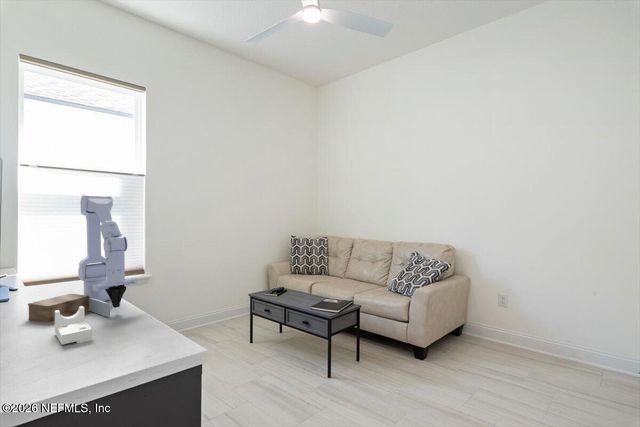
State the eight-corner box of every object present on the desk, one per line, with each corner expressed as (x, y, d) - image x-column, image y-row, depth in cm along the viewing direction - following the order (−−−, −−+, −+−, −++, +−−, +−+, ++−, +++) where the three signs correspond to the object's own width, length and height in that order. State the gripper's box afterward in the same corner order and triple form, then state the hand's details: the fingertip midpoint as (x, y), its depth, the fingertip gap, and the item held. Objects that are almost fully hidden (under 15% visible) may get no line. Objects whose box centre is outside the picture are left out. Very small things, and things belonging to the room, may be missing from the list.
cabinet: (70, 308, 131) (70, 293, 131) (89, 310, 128) (89, 295, 128) (28, 319, 118) (27, 303, 118) (48, 322, 114) (48, 306, 114)
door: (88, 310, 128) (88, 297, 128) (93, 309, 129) (92, 297, 129) (107, 317, 120) (107, 304, 120) (112, 315, 121) (112, 303, 121)
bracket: (55, 335, 104) (54, 310, 104) (83, 329, 109) (82, 305, 109) (61, 348, 95) (61, 320, 95) (91, 341, 100) (91, 315, 100)
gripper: (100, 274, 116) (100, 313, 116) (141, 267, 129) (141, 303, 129) (89, 272, 120) (90, 310, 120) (130, 265, 132) (130, 301, 132)
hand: (116, 306), depth 125 cm, fingers closed
